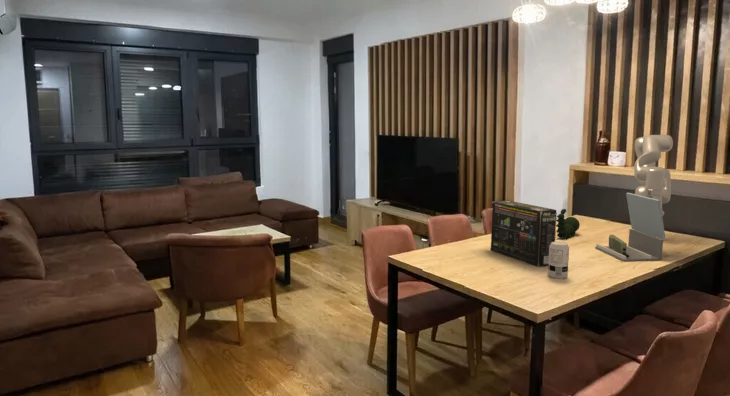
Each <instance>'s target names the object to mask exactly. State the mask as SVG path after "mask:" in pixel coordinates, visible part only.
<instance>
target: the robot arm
mask: <svg viewBox="0 0 730 396" xmlns="http://www.w3.org/2000/svg"><path fill="white" fill-rule="evenodd" d="M673 147H674V141H673V137H672V136H671V135H669V134H649V135H645V136H640V137H637V138H636V139H635V141H634V151H635V155H636V157H637V158H636V161H635V162H634V166H633V167H634V168H633V171H634V173H633V174H634V178H635V179H636V180H637V181H638V182H639V183H640V184H642V185H639V186H637V187H636V188H635V190H634V194H636V195H640V196H645V197H649V198H653V199H657V200H660V205H661V211H662V218H664V215H665V211H664V210H663V204H667V203H669V202H670V200H671V196H672V195H671V189H672V186H671V184H672V183H671V182H672V181H671V179H672V178H671V172H670V170H669V169H668V168H664V167H662V166H656V163H657V162H658V161H660V159H661V158H662V153H667V152H669V151H671V150H672V149H673ZM636 231H637V230H636ZM639 232H640V231H639ZM642 233H643V232H642ZM644 234H646V233H644ZM647 235H648V234H647ZM650 236H651V235H650ZM653 237H654V236H653Z"/></svg>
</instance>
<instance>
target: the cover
mask: <svg viewBox="0 0 730 396" xmlns="http://www.w3.org/2000/svg"><path fill="white" fill-rule="evenodd" d="M625 195H626V201H627V208H628V213H629V214H628V215H629V220H630V226H631V228H630V229H633V230H637V231H640V232H643V233H646V234H648V235H651V236H654V237H656V238H659V239H661V240H663V241H664V240H666V234H665V233H666V232H665V227H664V226H665V225H664V220H663V218H664V217H663V218H662V211H661V205H660V200H657V199H653V198H649V197H645V196H640V195H636V194H635V193H631V192H626V193H625Z"/></svg>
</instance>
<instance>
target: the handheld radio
mask: <svg viewBox="0 0 730 396" xmlns="http://www.w3.org/2000/svg"><path fill="white" fill-rule="evenodd" d="M608 246H609V247H611V248H612V249H613V250H615V251H616V252H618V253H620V254H622V255H624V256H626V257H629V255H628V254H626V251H627V246H628V245H627V242H625V241H624V240H622V239H621V238H619V237H617V236H616V235H615V234H609V236H608Z"/></svg>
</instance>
